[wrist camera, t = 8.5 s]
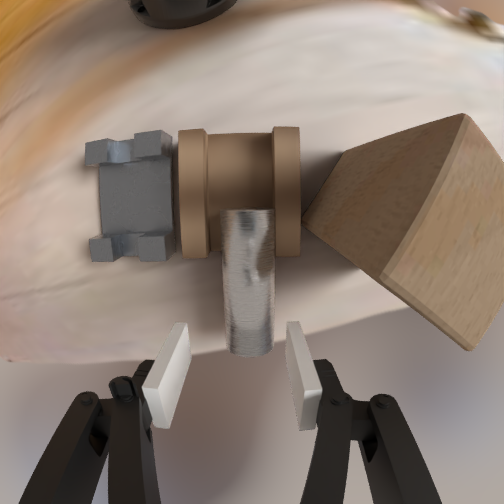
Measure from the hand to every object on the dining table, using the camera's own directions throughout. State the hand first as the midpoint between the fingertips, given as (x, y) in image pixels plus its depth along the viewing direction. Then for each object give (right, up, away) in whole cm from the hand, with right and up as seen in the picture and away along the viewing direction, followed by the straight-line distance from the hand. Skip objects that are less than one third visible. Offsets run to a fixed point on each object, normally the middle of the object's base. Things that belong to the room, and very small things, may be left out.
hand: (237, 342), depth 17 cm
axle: (0, +3, +12) cm, 13 cm away
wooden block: (+13, +10, +13) cm, 21 cm away
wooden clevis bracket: (0, +8, +13) cm, 16 cm away
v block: (-12, +12, +13) cm, 21 cm away
